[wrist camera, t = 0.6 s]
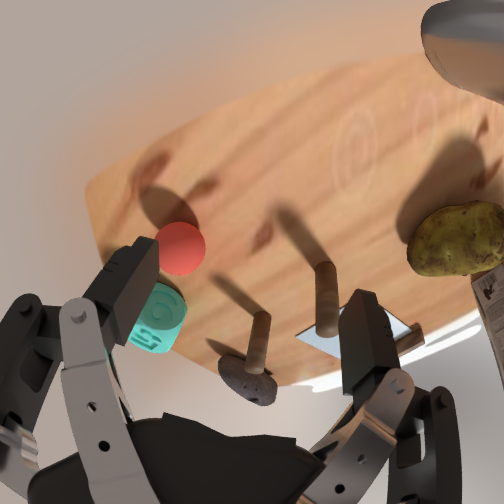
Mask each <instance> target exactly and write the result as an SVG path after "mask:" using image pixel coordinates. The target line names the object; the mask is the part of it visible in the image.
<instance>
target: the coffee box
mask: <svg viewBox="0 0 504 504" xmlns="http://www.w3.org/2000/svg"><path fill="white" fill-rule="evenodd" d="M471 286H472V289H473V292H474V296H475V299H476V303H477V306H478V310H479V313H480V315H481V318H482V320H483V323H484V326H485V328H486V331H487V334H488V337H489V340H490V343H491V346H492V349H493V352H494V355H495V358H496V362H497V365H498V368H499V372H500V376H501V380H502V384H503V389H504V267H503V266H502V264H500V265H499V266H497V267H496V268H494V269H493V270H491V271H490V272H488V273H487V274H485V275H484V276H482V277H480V278H479V279H477V280H476V281H474V282H472V284H471Z"/></svg>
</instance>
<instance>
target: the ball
mask: <svg viewBox="0 0 504 504" xmlns="http://www.w3.org/2000/svg"><path fill="white" fill-rule="evenodd" d="M155 240H158V242H159V266H160V267H161V268H162V269H163V270H164V271H166V272H167V273H170V274H173V275H186V274H189V273H191V272H193V271H194V270H196V269H197V268H198V267H199V265H200V264H201V263H202V261H203V259H204V256H205V249H206V248H205V241H204V238H203V236H202V234H201V233H200V231H199V230H198V229H197V228H196V227H194V226H193V225H191V224H189V223H186V222H173V223H169V224H167V225H166V226H164V227H163V228H162V229H161V230H160V231H159V232H158V233H157V235H156V237H155Z"/></svg>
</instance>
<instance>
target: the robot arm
mask: <svg viewBox="0 0 504 504" xmlns="http://www.w3.org/2000/svg"><path fill="white" fill-rule="evenodd" d="M421 37H422V43H423V47H424V49H425V52H426V55H427V57H428V58H429V60H430V62H431V64H432V65H433V67H434V68H435V69H436V71H437V72H438V73H439V74H440V75H441V76H442V77H443V78H444V79H445V80H446V81H448V82H449V83H450V84H452V85H454V86H456V87H458V88H460V89H463V90H466V91H469V92H472V93H475V94H477V95H480V96H482V97H485V98H487V99H490V100H492V101H495V102H497V103H499V104H502V105H504V0H450V1H445V2H441V3H438V4H435V5H433V6H431V7H430V8H429V9H428V10H427V11H426V13H425V14H424V16H423V19H422V23H421ZM158 276H159V242H158V240H155V239H151V238H147V237H143V236H139V237H138V238H137V239H136V241H135V242H134V243H133V245H132V246H131V247H130V246H126V245H125V246H124V247H122V248H120V249H119V250H117V251H116V252H115V253H114V254H113V255H112V257H111V258H110V259H109V260H108V263H106V264H105V266H104V267H103V270H101V271H100V272H99V274H98V275H97V277H96V278H95V280H94V281H93V282H92V283H91V285H90V287H89V288H88V289H87V291H86V292H85V293H84V295H83V296H82V297H81V298H75V299H71V300H69V301H68V302H66V303H65V304H64V305H63V306H62V307H61V306H47V305H42V303H41V300H40V299H39V297H38V296H37V295H35V294H30V293H29V294H24V295H22V296H20V297H18V298H17V299H16V300H15V301H14V302H13V304H12V305H11V307H10V308H9V310H8V311H7V313H6V314H5V316H4V318H3V319H2V321H1V323H0V481H1V482H2V483H4V484H5V485H6V486H8V487H9V488H10V489H12V490H13V491H14V492H16V493H17V494H19V495H20V496H22V497H23V498H25V499H26V500H28V504H357V503H358V502H359V501H360V499H361V498H362V497H363V495H364V494H365V493H366V491H367V490H368V488H369V487H370V485H371V484H372V482H373V481H374V480H375V478H376V477H377V475H378V474H379V472H380V470H381V469H382V467H383V466H384V464H385V463H386V461H387V459H388V458H389V475H388V494H387V504H462V466H461V450H460V440H459V431H458V423H457V416H456V409H455V404H454V399H453V396H452V394H451V393H450V391H449V390H447V389H446V388H445V387H442V386H438V387H436V388H434V389H433V390H431V391H430V392H428V391H426V390H423V389H421V388H418V387H416V386H414V382H413V380H412V378H411V376H410V375H409V374H408V373H407V372H405V371H404V370H402V369H401V367H400V362H399V357H398V353H397V348H396V344H395V340H394V338H393V336H394V335H393V331H392V329H391V323H390V320H389V316H388V315H387V313H386V312H385V310H384V309H383V307H381V306H379V305H378V301H377V297H376V294H375V293H374V292H371V291H366V290H362V289H356V290H355V291H354V293H353V295H352V296H351V298H350V299H349V301H348V303H347V304H346V306H345V307H344V309H343V311H342V312H341V314H340V317H339V321H338V333H339V343H340V355H341V369H342V385H343V395H347V396H353V402H352V403H351V404H350V405H349V406H348V408H347V409H346V410H345V411H344V413H343V414H342V415H341V417H340V418H339V419H338V420H337V422H336V423H335V424H334V426H333V427H332V428H331V429H330V430H329V432H328V433H327V434H326V435H325V436H324V437H323V438H322V439H321V440H320V441H319V442H317V443H316V444H315V445H314V446H313V447H312V448H311V449H310V450H309V451H307V450H306V449H304V448H302V447H299V446H297V445H296V438H289V437H280V436H271V435H255V436H242V437H241V436H240V437H229V436H226V435H224V434H221V433H219V432H217V431H215V430H213V429H211V428H209V427H207V426H205V425H203V424H201V423H199V422H197V421H193V420H189V419H186V418H182V417H179V416H175V415H172V414H168V413H165V412H164V413H163V416H162V418H147V419H141V420H137V421H135V420H134V417H133V415H132V412H131V409H130V407H129V404H128V402H127V400H126V398H125V395H124V392H123V389H122V386H121V383H120V379H119V376H118V373H117V369H116V366H115V362H114V359H113V355H112V349H113V347H114V345H115V343H116V344H119V345H122V346H125V344H126V342H127V340H128V338H129V336H130V333H131V331H132V329H133V327H134V325H135V323H136V321H137V319H138V317H139V315H140V313H141V311H142V309H143V307H144V306H145V304H146V302H147V300H148V298H149V296H150V294H151V292H152V290H153V288H154V286H155V285H156V282H157V280H158ZM61 361H64V369H62V370H61V382H62V388H63V393H64V398H65V403H66V407H67V412H68V416H69V420H70V424H71V428H72V431H73V435H74V438H75V442H76V445H77V448H78V452H76V453H74V454H73V455H70V456H69V457H67V458H65V459H63V460H61V461H58V462H56V463H55V464H52V465H50V466H48V467H46V468H44V469H42V470H40V468H39V466H38V463H37V458H36V456H37V454H38V448H37V443H36V440H35V438H34V436H33V434H32V433H33V430H34V427H35V424H36V421H37V418H38V415H39V413H40V410H41V407H42V405H43V402H44V400H45V397H46V395H47V392H48V390H49V387H50V385H51V383H52V380H53V378H54V375H55V373H56V371H57V369H58V367H59V365H60V362H61ZM423 431H424V435H425V457H424V459H423V460H422V461H421V441H420V433H421V432H423Z"/></svg>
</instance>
